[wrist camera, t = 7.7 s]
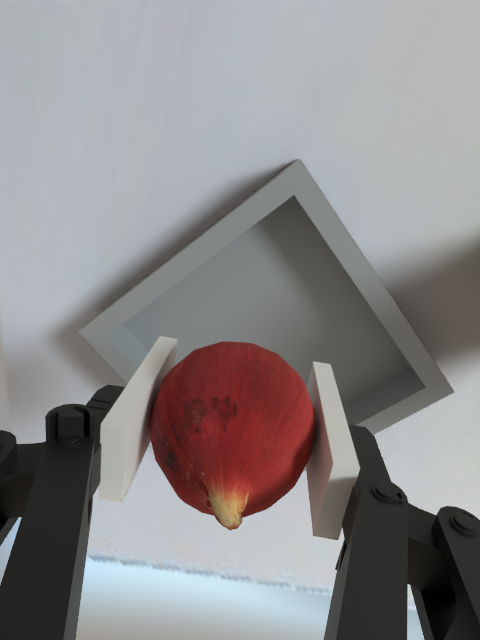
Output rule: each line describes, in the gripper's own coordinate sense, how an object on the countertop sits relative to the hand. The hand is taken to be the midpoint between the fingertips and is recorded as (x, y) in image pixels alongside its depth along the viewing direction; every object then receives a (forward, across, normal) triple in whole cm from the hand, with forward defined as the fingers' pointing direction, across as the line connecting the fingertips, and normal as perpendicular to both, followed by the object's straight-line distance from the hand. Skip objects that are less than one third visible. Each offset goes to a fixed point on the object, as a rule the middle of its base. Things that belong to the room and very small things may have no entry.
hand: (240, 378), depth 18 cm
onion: (0, 0, 0) cm, 0 cm away
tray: (+16, +2, -5) cm, 17 cm away
